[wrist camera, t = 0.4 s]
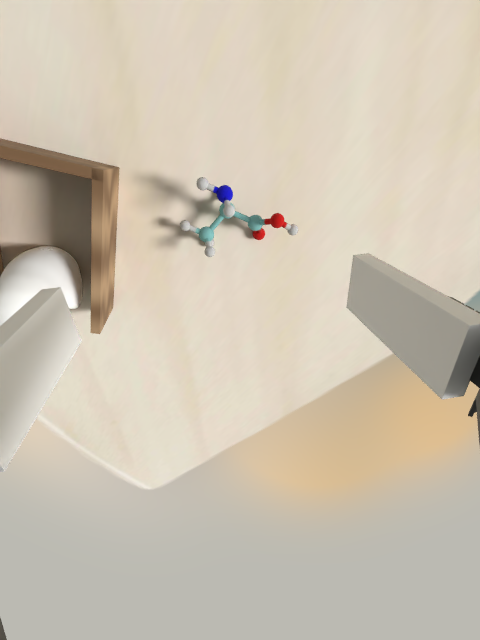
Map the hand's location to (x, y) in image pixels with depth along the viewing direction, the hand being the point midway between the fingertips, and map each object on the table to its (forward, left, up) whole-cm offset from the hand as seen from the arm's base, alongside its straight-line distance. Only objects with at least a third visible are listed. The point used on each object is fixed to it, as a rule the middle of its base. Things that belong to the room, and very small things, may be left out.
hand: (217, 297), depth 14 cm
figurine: (+2, -20, -27) cm, 34 cm away
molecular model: (+1, +3, -27) cm, 27 cm away
